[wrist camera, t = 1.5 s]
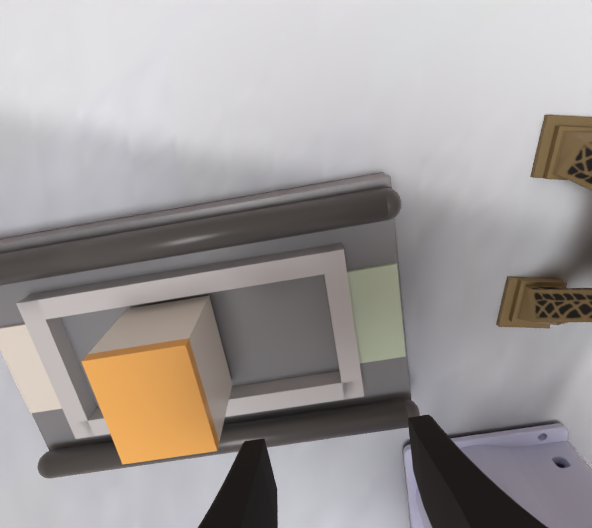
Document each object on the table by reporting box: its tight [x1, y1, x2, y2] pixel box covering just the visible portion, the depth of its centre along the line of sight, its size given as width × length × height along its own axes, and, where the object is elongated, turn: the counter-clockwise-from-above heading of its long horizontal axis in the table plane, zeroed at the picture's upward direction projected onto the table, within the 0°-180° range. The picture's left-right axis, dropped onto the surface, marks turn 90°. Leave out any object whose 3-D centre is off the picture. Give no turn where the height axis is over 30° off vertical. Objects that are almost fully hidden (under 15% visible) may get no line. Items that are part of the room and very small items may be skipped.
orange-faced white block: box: [81, 296, 232, 464], centre depth 18 cm, size 4×5×4 cm
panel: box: [0, 173, 420, 478], centre depth 21 cm, size 20×13×3 cm, turn 100°
